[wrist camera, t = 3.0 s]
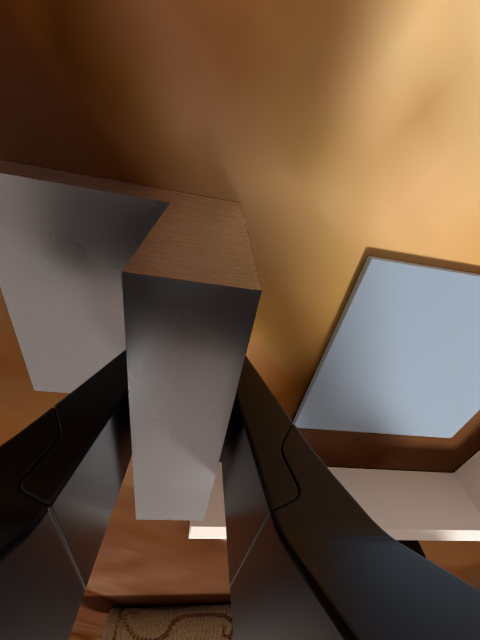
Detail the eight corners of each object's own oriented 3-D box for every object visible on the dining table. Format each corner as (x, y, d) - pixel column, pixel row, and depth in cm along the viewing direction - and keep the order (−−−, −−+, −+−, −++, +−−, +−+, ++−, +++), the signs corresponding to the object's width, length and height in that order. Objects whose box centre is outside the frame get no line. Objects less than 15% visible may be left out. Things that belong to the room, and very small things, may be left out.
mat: (447, 433, 17) (450, 438, 17) (292, 422, 16) (293, 427, 16) (586, 291, 12) (594, 295, 12) (368, 255, 10) (371, 258, 10)
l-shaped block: (459, 484, 21) (496, 540, 18) (193, 474, 18) (188, 538, 15) (789, 215, 10) (1010, 248, 7) (260, 85, 7) (284, 57, 5)
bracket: (210, 376, 13) (203, 520, 9) (54, 362, 12) (-56, 515, 8) (240, 202, 9) (261, 290, 4) (3, 159, 8) (-340, 208, 3)
